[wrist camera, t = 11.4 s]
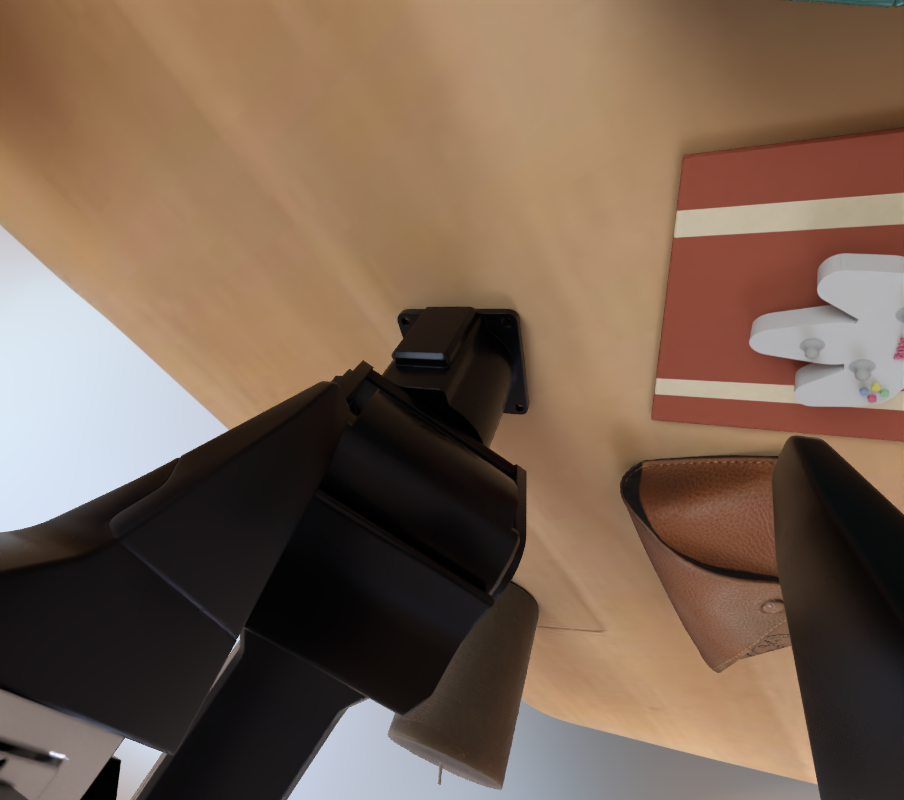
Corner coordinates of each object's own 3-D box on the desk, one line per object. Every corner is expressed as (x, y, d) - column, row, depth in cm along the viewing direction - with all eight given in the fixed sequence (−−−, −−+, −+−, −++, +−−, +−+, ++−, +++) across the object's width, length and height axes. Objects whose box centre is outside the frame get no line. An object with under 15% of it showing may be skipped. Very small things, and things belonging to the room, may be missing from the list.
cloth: (1085, 450, 16) (1092, 458, 16) (651, 414, 22) (651, 420, 22) (1501, 52, 9) (1529, 55, 9) (683, 154, 15) (683, 158, 14)
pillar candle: (509, 568, 38) (452, 780, 28) (556, 623, 43) (521, 825, 32) (426, 566, 44) (354, 742, 34) (475, 616, 48) (424, 785, 38)
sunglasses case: (844, 641, 28) (796, 732, 26) (730, 584, 34) (683, 654, 32) (804, 451, 20) (729, 562, 18) (663, 419, 26) (596, 500, 24)
